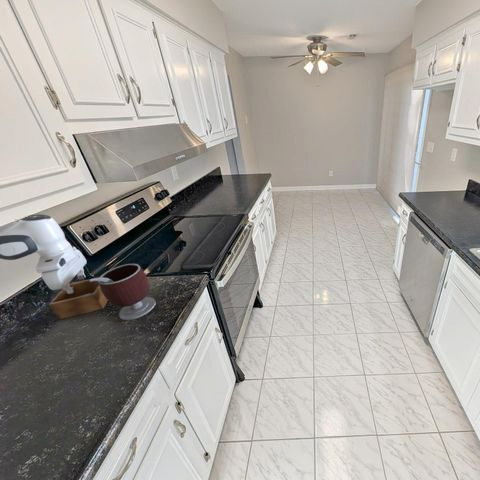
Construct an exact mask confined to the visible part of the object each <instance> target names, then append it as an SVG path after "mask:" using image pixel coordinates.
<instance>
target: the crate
mask: <svg viewBox="0 0 480 480" xmlns="http://www.w3.org/2000/svg"><path fill="white" fill-rule="evenodd" d="M90 279H91V278H90ZM90 279H84V280H79V281H76V282H70V283H69V284H70V285H69V286H70V287H74V289H75V291H74V292H73V293H70V294H68V293H67V291H66V290H64V289H60V290H59V292H58V294H57V295H56V296H55V297H54V298H53V299H52V300H51V301H50V302H49V304H48V306H49V307H50V309H51V310H52V311H53V313H54V315H55V316H56V317H57V319H58V320H63V319H68V318H71V317H75V316H80V315H84V314H87V313H92V312H96V311H99V310H104V309H105V307H106V305H107V303H108V302H109V301H108V300H107V299H106V298H105V296H104V294H103V293H102V291H101V288H100V285H99V282H98V281H92V282H90V281H89V280H90ZM88 293H90V294H88ZM91 293H93V294H91ZM85 294H86V295H85ZM87 294H88V295H87ZM81 295H82V296H81ZM107 301H108V302H107Z"/></svg>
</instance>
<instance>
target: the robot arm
mask: <svg viewBox="0 0 480 480" xmlns="http://www.w3.org/2000/svg"><path fill="white" fill-rule="evenodd" d="M27 216H28V217H25V216H24V217H25V218H23V219H21V218H19V219H17V220H18V221H15V222H13V223H11V224H8V225H5V226H3V227H0V259H1V260H4V261H15V260H19V259H23V258H25V257H28V256H30V255H33V254H34V253H37V254H38V255H39V259H38V262H37V264H36V266H35V272H37V273H39V274H41V278H42V280H43V281H44V284H45V285H46V286H47V287H48V288H49V290H51V291H60V290H62V289H64V290H66V291H67V293H68V294H70V293H73V292H74V291H75V289H74V287H70V286H69V285H70V284H71V281H72V280H74V278H75V277H76V276H77V279H78V280H79V281H85V280H86V277H87V276H86V275H85V269H84V267H85V266H86V265H87V259H86V257H85V256H84V255H83V253H82V252H81V251H80V250H79V249H77V247H75V246H73V245H71V242H69V241H68V240H67V238H66V235H65V232H64V231H63V229H62V228H61V226H60V225H59V224H58V222H57V221H56V220H55V219H54V218H53V217H52V216H50V215H49V214H48V215H47V214H41V213H40V214H39V213H38V214H30V215H27Z"/></svg>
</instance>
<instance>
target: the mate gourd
mask: <svg viewBox="0 0 480 480" xmlns="http://www.w3.org/2000/svg"><path fill="white" fill-rule="evenodd" d="M88 280H89V279H88ZM89 281H90V282H92V281H98V282H99V285H100V288H101V291H102V293H103V294H104V296H105V298H106V299H107V300H108V302H109V303H110V304H111V305H113V306H117V307H121V309H120V310H119V313H118V316H119V318H120V319H121V320H123V321H132V320H137V319H139V318H141V317H143V316H145V315H147V314H148V313H150V312H151V311H153V309H154V308H155V306H156V304H157V303H156V302H157V301H156V300H155V298H153V297H150V296H147V295H148V293H149V290H150V284H149V279H148V277H147V275H146V273H145V271H144V269H143V268H142V267H141V266H140V265H139V263H126V264H122V265H119V266H116V267H113V268H111V269H109V270H108V271H105V272H104V273H102V274H101V275H100V276H99V277H95V278H90V280H89Z"/></svg>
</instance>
